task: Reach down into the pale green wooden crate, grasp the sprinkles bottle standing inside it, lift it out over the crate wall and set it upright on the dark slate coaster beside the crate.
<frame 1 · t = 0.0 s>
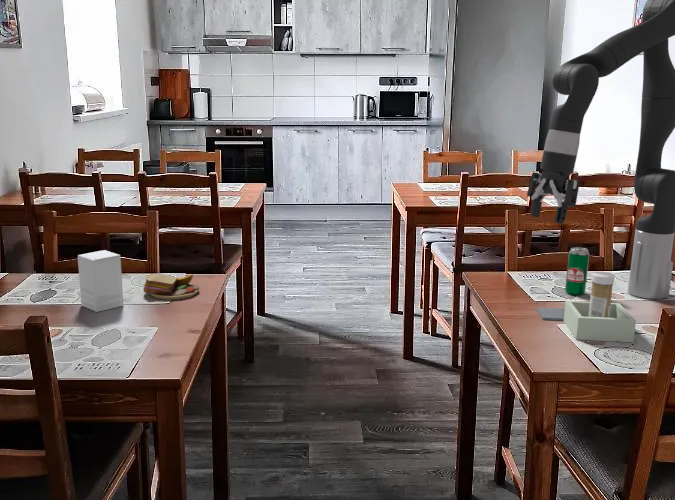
hand: (546, 219, 165), 22 cm above the table, tool pointing down, fingers open, 8 cm apart
supplement box: (102, 306, 166), on the table
coaster: (555, 315, 166), on the table
toy sandwich meal: (171, 295, 177), on the table
sprinkles bottle: (596, 332, 156), resting in crate
soda can: (574, 293, 184), on the table
crate: (596, 331, 156), on the table
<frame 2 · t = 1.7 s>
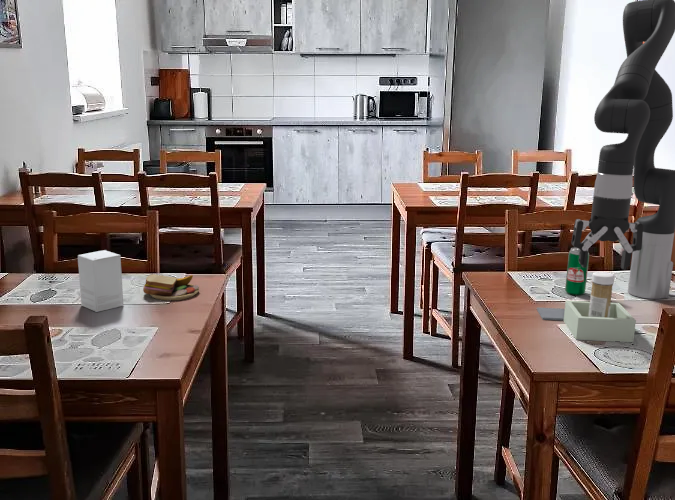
hand: (603, 267, 153), 15 cm above the table, tool pointing down, fingers open, 8 cm apart
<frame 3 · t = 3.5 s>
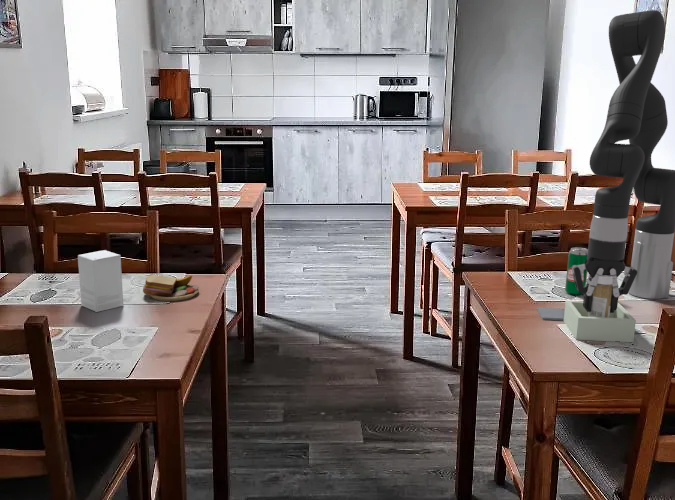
hand: (599, 310, 155), 5 cm above the table, tool pointing down, fingers closed on sprinkles bottle, 4 cm apart
sprinkles bottle: (596, 332, 156), resting in crate, touching gripper
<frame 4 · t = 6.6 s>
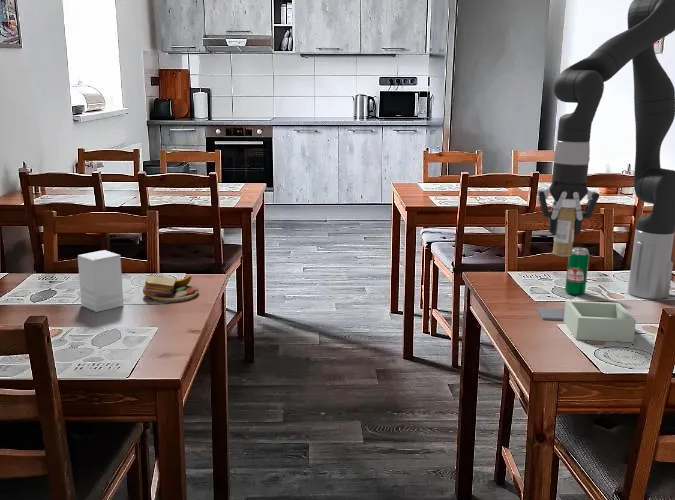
hand: (563, 234, 162), 20 cm above the table, tool pointing down, fingers closed on sprinkles bottle, 4 cm apart
sprinkles bottle: (561, 255, 163), point 15 cm above the table, touching gripper
when the fingers open (7 cm above the table, at t = 9.6 s): sprinkles bottle drops 1 cm, resting on coaster.
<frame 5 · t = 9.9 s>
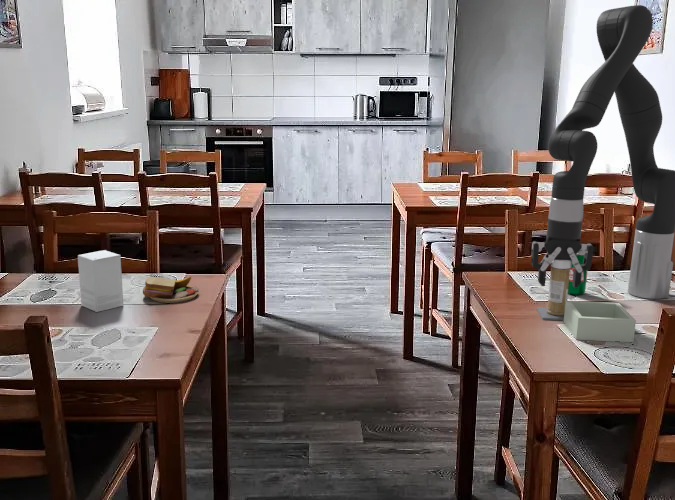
hand: (558, 285, 165), 7 cm above the table, tool pointing down, fingers open, 7 cm apart
sprinkles bottle: (555, 313, 166), resting on coaster
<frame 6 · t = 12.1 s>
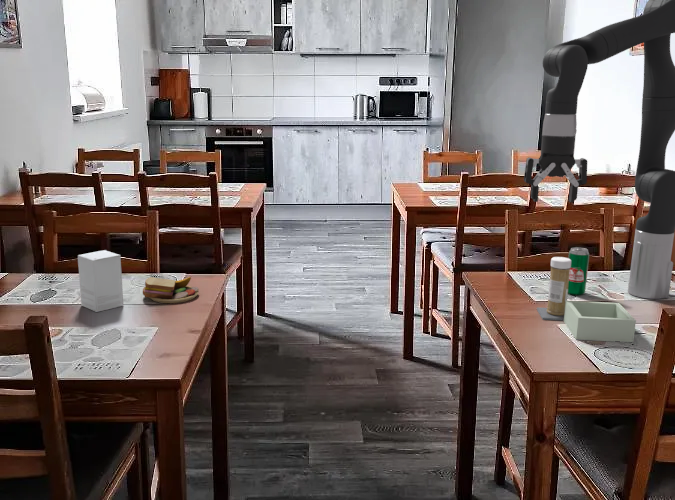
hand: (553, 201, 168), 26 cm above the table, tool pointing down, fingers open, 8 cm apart
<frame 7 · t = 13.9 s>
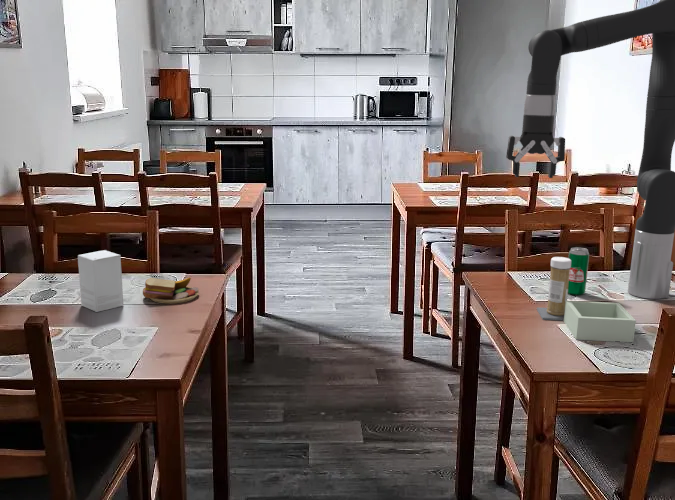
hand: (533, 177, 180), 30 cm above the table, tool pointing down, fingers open, 8 cm apart
at the end: sprinkles bottle inside the target area on the coaster (0.1 cm from its centre), point 0.3 cm above the coaster's base; sprinkles bottle tilted 0°; the gripper is holding nothing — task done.
